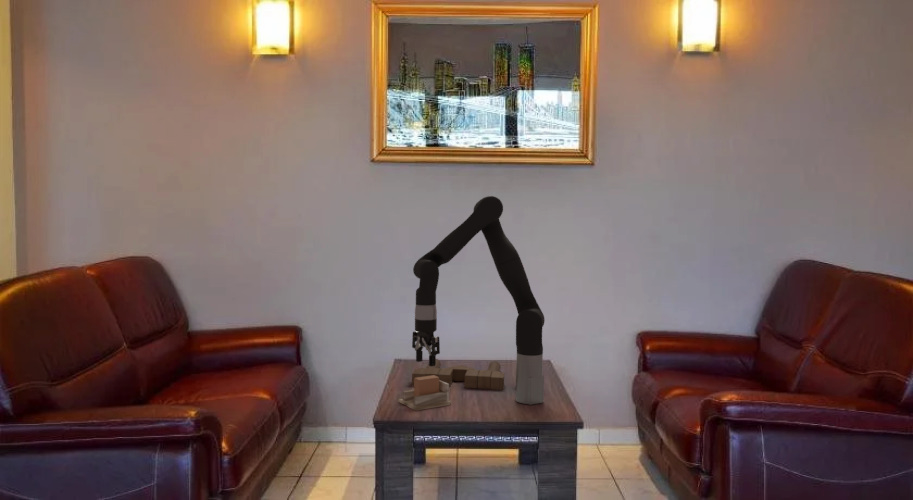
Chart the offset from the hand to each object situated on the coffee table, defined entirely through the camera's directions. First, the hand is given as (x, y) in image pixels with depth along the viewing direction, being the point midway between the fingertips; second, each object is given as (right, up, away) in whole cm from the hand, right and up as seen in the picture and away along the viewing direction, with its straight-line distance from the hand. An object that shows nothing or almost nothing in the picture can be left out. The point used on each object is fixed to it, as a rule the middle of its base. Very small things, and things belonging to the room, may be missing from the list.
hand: (425, 363), depth 240 cm
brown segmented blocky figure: (+13, -13, +38) cm, 42 cm away
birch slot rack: (0, -14, +1) cm, 14 cm away
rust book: (0, -13, +2) cm, 13 cm away
